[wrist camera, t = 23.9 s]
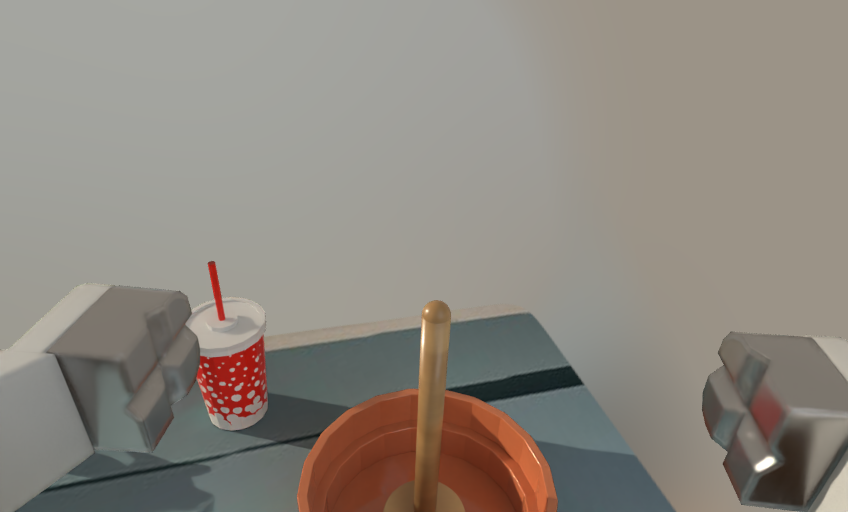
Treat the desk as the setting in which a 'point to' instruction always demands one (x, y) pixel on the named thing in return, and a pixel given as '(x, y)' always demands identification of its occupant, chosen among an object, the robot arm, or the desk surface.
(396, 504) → the wooden post stand
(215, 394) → the beverage cup
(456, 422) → the bowl
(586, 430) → the desk surface
